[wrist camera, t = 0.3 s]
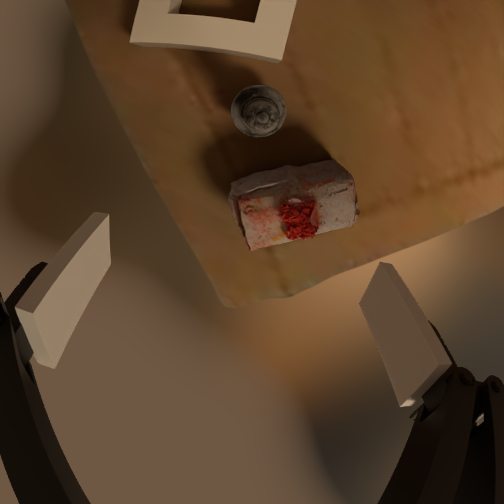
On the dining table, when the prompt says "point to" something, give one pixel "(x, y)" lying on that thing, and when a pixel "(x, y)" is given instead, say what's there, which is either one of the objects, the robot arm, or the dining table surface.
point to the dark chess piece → (258, 111)
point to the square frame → (215, 29)
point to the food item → (293, 203)
